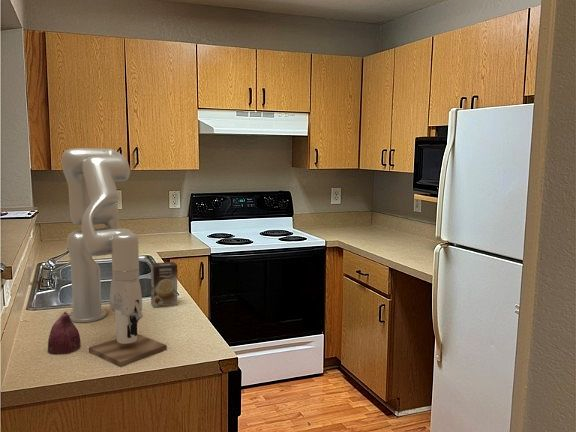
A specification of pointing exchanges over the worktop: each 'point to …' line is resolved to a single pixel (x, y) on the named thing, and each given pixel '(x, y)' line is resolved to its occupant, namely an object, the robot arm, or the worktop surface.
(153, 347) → the walnut board
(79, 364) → the worktop surface
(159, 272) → the coffee box
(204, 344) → the worktop surface
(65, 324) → the vegetable
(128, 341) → the white coffee cup
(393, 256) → the worktop surface
